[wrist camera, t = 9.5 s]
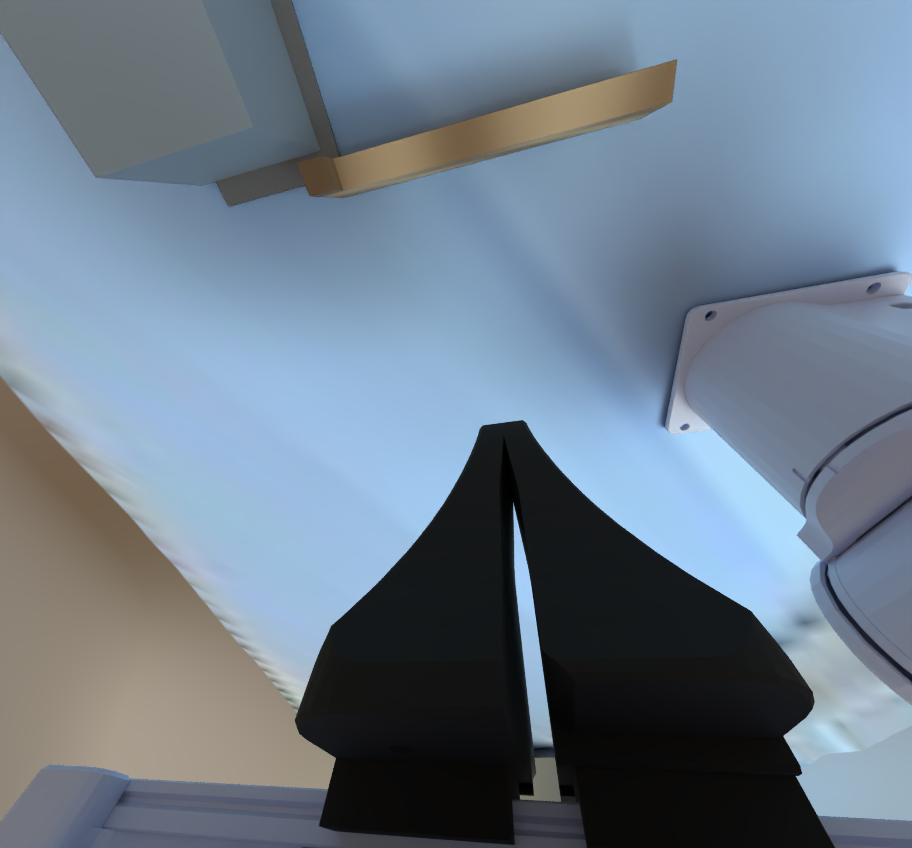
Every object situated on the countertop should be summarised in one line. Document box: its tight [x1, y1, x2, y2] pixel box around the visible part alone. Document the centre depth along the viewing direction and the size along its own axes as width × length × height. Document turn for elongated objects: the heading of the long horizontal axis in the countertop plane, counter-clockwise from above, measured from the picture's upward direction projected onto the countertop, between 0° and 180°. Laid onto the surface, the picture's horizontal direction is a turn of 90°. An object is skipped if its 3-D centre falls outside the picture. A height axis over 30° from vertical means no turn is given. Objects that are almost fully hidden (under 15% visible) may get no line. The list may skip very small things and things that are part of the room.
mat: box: [216, 0, 340, 206], centre depth 13 cm, size 6×6×1 cm
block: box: [0, 0, 321, 185], centre depth 11 cm, size 6×4×5 cm
